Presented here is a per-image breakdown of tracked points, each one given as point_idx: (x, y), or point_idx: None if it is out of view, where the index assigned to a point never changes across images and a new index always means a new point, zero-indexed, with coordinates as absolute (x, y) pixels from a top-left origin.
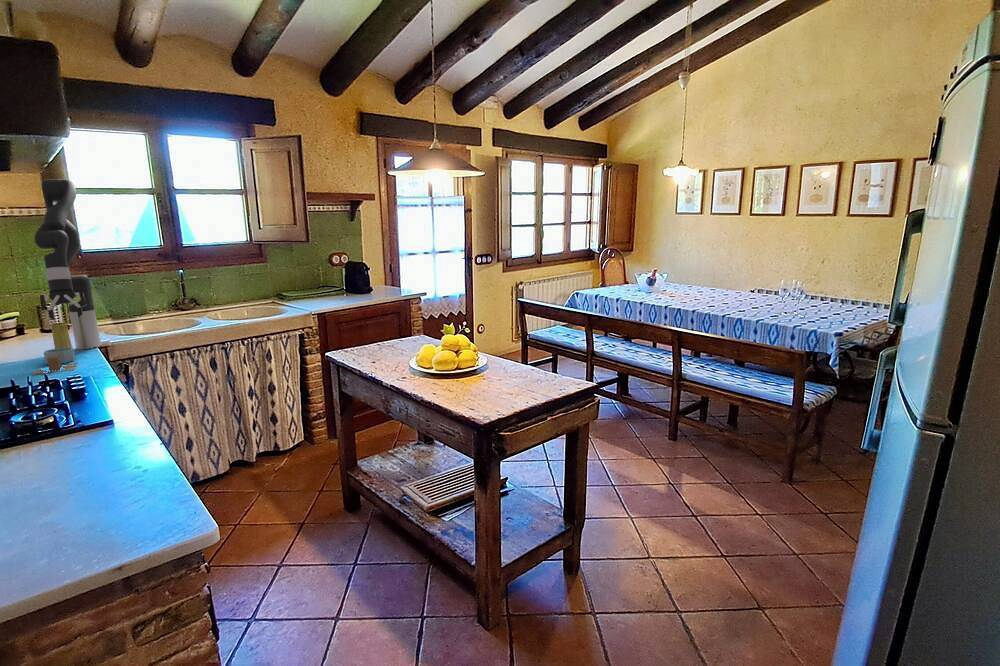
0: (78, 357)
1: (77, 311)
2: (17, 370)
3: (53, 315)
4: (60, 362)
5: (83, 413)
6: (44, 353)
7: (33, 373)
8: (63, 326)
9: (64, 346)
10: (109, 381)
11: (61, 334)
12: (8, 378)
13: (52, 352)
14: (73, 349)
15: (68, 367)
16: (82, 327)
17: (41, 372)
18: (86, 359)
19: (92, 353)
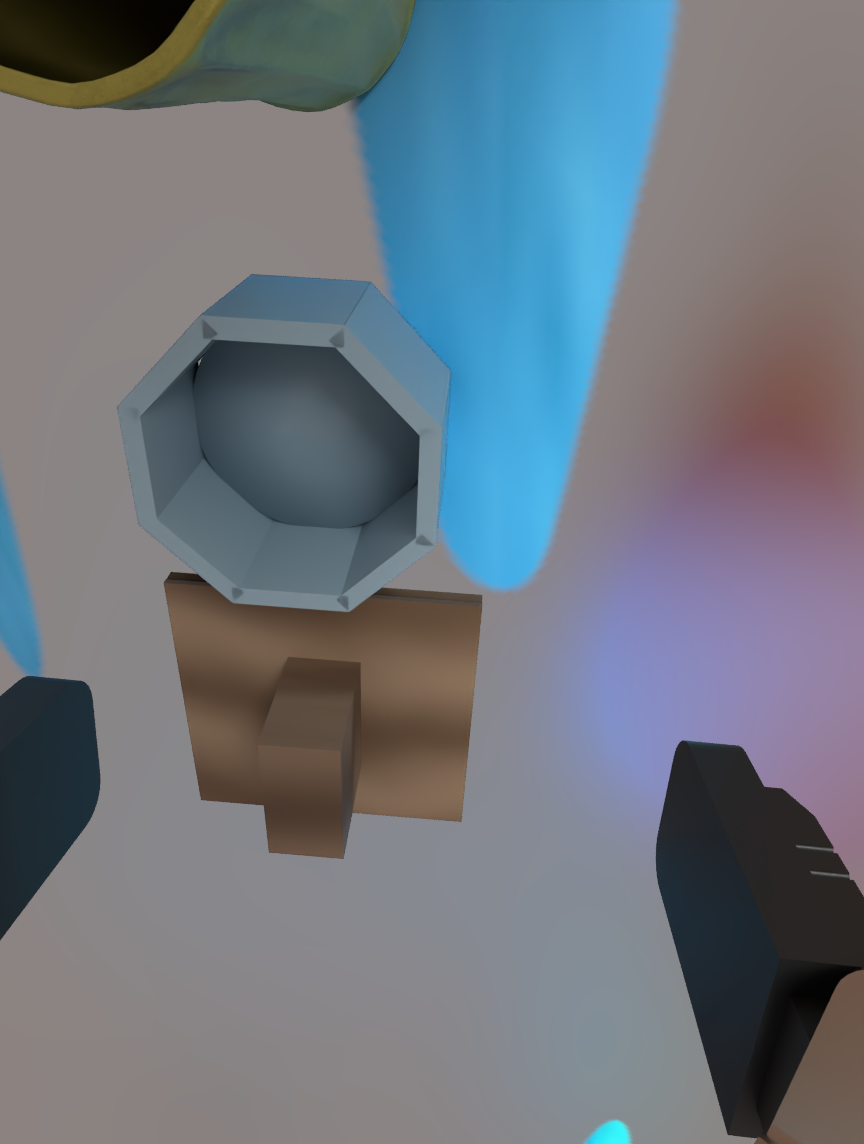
0: (479, 263)
1: (696, 1003)
2: (4, 544)
3: (29, 843)
4: (354, 720)
5: None
6: (153, 527)
7: (198, 765)
8: (220, 53)
9: (296, 99)
10: (620, 1123)
11: (217, 97)
12: None
13: (244, 593)
14: (443, 427)
15: (416, 742)
16: None
17: (248, 772)
18: (557, 476)
19: (658, 58)
